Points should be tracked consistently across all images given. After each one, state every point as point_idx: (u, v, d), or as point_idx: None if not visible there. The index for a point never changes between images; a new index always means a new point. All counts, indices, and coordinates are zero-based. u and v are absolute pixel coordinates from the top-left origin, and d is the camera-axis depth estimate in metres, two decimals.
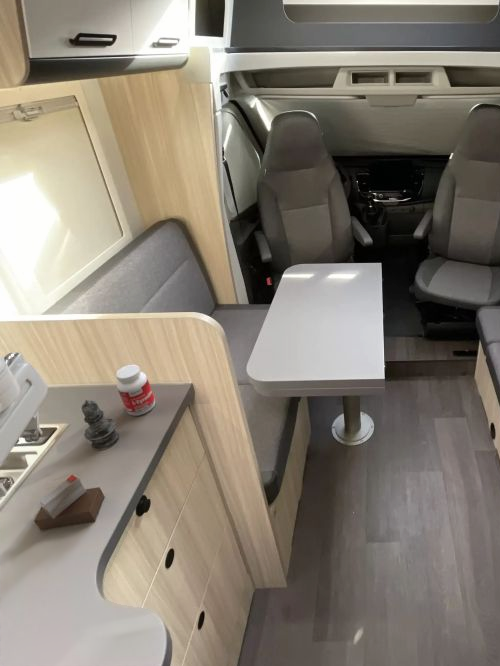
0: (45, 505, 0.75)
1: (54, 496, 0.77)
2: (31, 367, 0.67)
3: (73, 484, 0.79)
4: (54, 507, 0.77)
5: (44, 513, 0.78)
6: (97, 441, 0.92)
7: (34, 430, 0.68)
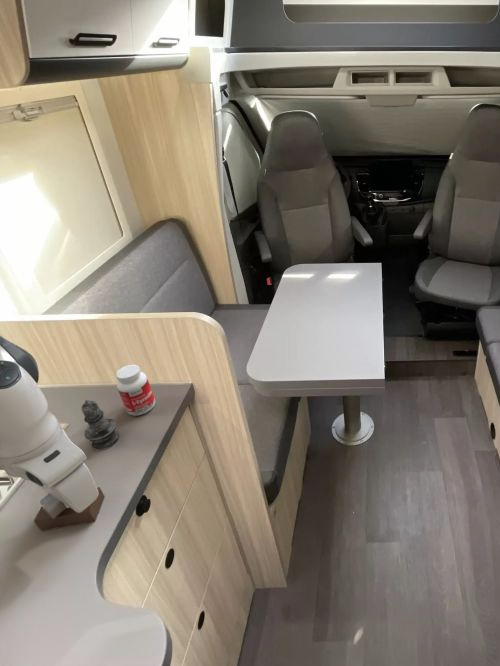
0: (45, 505, 0.75)
1: None
2: None
3: None
4: (54, 507, 0.77)
5: (44, 513, 0.78)
6: (97, 441, 0.92)
7: None
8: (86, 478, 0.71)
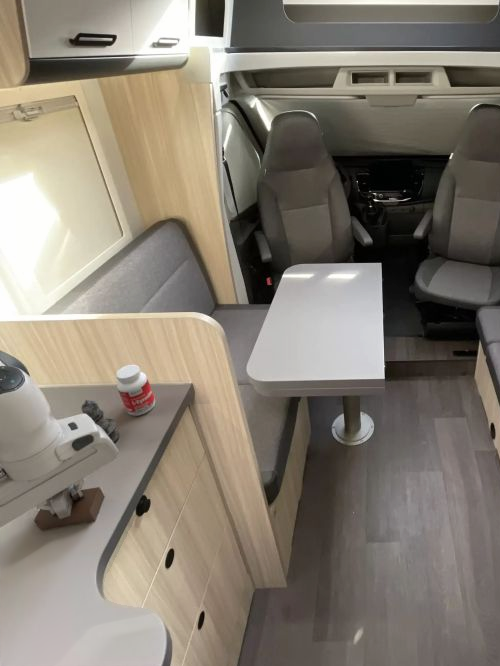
0: (62, 502, 0.76)
1: (62, 493, 0.77)
2: None
3: None
4: (66, 504, 0.77)
5: (44, 513, 0.78)
6: None
7: (51, 502, 0.78)
8: (102, 429, 0.82)
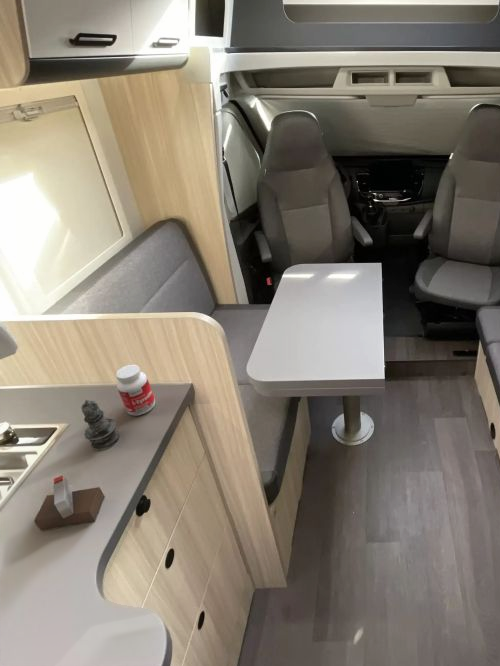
0: (65, 500, 0.76)
1: (63, 492, 0.77)
2: None
3: (65, 481, 0.80)
4: (69, 502, 0.78)
5: (44, 513, 0.78)
6: (97, 441, 0.92)
7: None
8: None
